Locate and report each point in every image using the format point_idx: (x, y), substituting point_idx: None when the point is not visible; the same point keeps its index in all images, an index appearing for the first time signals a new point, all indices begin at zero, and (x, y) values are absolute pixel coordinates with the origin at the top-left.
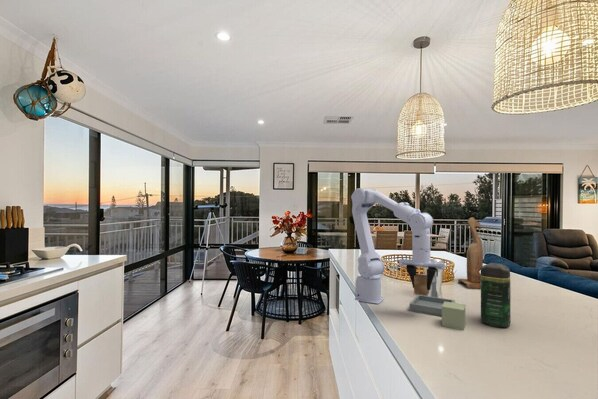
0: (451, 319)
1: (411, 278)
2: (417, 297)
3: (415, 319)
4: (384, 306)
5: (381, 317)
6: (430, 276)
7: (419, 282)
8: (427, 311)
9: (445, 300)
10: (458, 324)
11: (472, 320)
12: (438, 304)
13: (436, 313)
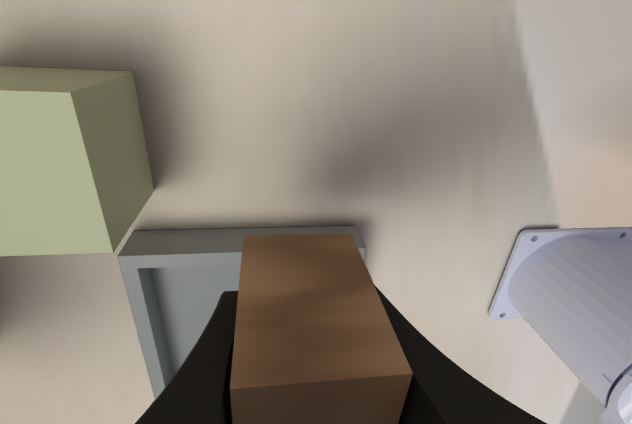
0: (38, 74)
1: (427, 349)
2: None
3: (305, 101)
4: (486, 220)
5: (506, 19)
6: (163, 422)
7: (323, 316)
8: (260, 234)
9: None
10: (3, 70)
11: (23, 257)
12: None
13: (210, 235)
